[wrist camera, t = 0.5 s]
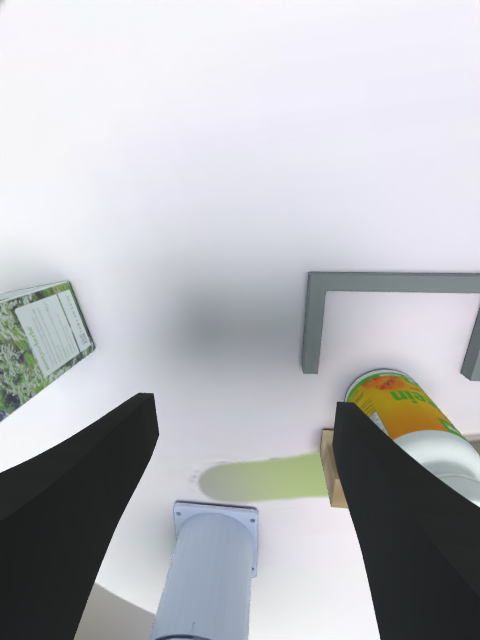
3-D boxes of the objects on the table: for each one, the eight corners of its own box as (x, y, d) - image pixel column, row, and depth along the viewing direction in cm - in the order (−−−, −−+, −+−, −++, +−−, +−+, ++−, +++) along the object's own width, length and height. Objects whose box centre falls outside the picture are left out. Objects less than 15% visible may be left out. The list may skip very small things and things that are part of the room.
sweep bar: (422, 461, 23) (457, 518, 18) (320, 454, 23) (331, 506, 19) (429, 436, 22) (468, 489, 17) (322, 429, 22) (335, 479, 18)
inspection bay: (476, 373, 20) (486, 381, 19) (301, 366, 21) (303, 373, 20) (507, 273, 17) (521, 277, 16) (308, 271, 19) (310, 274, 18)
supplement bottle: (433, 380, 20) (566, 513, 11) (397, 436, 22) (485, 588, 13) (362, 357, 20) (437, 472, 11) (332, 415, 22) (375, 553, 13)
